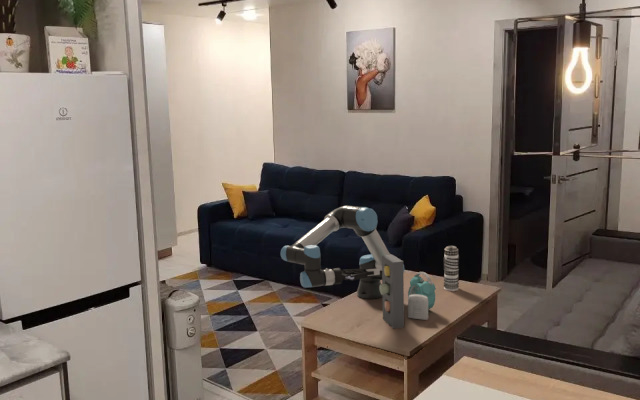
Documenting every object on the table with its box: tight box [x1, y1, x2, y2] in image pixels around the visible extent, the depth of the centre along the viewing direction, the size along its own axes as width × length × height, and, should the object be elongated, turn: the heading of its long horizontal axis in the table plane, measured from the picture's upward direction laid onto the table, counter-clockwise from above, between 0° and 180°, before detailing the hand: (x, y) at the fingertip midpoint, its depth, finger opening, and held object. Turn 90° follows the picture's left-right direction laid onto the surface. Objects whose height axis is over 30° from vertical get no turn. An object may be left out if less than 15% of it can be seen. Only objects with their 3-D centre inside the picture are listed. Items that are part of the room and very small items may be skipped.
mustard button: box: [384, 266, 390, 276], centre depth 294 cm, size 4×5×5 cm
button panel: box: [381, 254, 405, 329], centre depth 296 cm, size 6×14×33 cm, turn 16°
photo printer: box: [407, 294, 429, 321], centre depth 303 cm, size 10×4×12 cm, turn 69°
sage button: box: [379, 283, 390, 294], centre depth 294 cm, size 4×5×5 cm
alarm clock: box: [407, 271, 436, 310], centre depth 314 cm, size 17×10×20 cm, turn 23°
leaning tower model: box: [442, 245, 460, 292], centre depth 347 cm, size 9×9×25 cm
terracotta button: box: [385, 301, 390, 311], centre depth 297 cm, size 4×5×5 cm
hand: (379, 271), depth 291 cm, fingers closed
